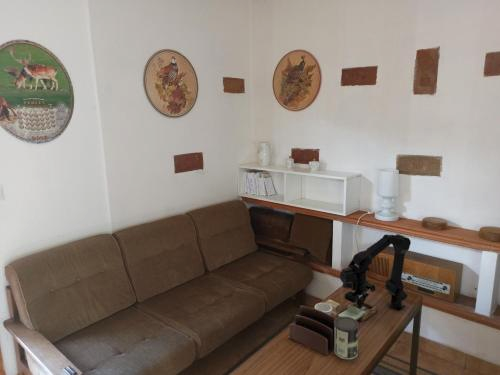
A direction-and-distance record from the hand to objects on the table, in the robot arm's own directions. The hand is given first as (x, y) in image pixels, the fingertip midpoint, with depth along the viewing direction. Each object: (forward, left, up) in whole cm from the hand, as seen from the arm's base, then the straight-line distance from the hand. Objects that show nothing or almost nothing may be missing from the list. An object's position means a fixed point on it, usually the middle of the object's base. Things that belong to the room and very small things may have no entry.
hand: (359, 307), depth 182 cm
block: (+6, -12, -5) cm, 15 cm away
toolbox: (-3, 0, -5) cm, 6 cm away
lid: (+6, 0, -2) cm, 7 cm away
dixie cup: (+20, -7, -5) cm, 22 cm away
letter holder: (+33, -2, -6) cm, 33 cm away
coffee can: (+28, +12, -5) cm, 31 cm away
